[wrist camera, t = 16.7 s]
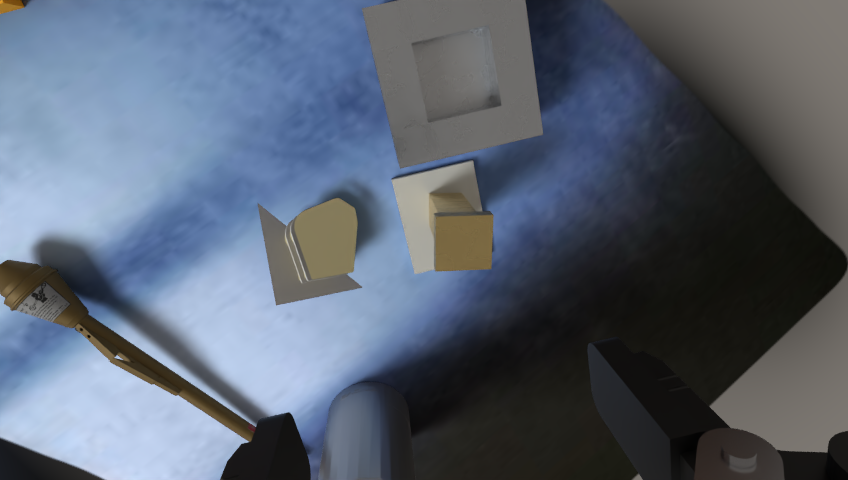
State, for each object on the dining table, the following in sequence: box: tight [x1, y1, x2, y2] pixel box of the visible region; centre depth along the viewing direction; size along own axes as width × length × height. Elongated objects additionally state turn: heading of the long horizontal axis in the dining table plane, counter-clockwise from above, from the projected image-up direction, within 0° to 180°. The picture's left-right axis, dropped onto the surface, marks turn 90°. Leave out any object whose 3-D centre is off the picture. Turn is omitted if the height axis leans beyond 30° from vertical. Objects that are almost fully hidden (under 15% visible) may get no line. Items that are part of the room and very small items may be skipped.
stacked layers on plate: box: [258, 198, 362, 305], centre depth 44 cm, size 10×9×6 cm
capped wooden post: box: [429, 193, 493, 271], centre depth 41 cm, size 4×4×11 cm
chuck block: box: [362, 0, 543, 168], centre depth 39 cm, size 14×12×7 cm
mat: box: [392, 160, 482, 274], centre depth 47 cm, size 10×8×1 cm
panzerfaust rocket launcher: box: [0, 260, 256, 442], centre depth 48 cm, size 5×35×5 cm, turn 42°
